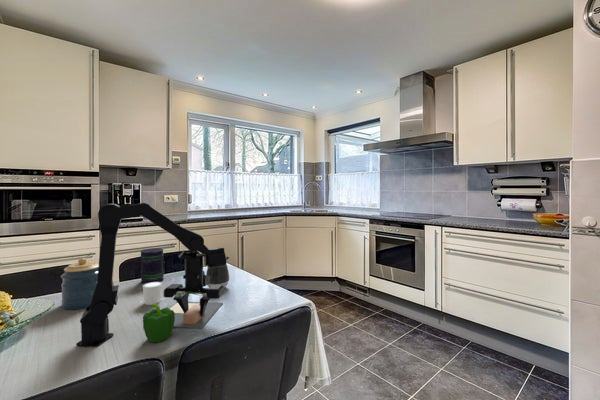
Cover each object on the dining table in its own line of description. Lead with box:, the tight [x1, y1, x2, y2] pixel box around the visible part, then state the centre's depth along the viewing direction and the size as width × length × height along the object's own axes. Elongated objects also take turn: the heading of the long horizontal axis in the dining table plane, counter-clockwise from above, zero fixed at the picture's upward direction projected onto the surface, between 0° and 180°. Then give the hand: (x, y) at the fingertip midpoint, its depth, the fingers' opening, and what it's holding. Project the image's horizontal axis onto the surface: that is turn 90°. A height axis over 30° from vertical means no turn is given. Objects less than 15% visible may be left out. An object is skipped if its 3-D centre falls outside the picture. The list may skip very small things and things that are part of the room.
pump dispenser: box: [205, 256, 230, 289], centre depth 128 cm, size 10×10×15 cm
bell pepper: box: [142, 303, 175, 343], centre depth 85 cm, size 8×8×10 cm
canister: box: [60, 257, 99, 310], centre depth 111 cm, size 13×13×18 cm
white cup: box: [142, 282, 163, 306], centre depth 112 cm, size 7×7×7 cm
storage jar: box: [140, 247, 165, 285], centre depth 138 cm, size 10×10×15 cm
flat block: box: [183, 305, 205, 324], centre depth 97 cm, size 8×4×3 cm, turn 176°
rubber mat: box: [168, 301, 224, 329], centre depth 101 cm, size 20×18×1 cm
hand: (194, 316), depth 97 cm, fingers open, 5 cm apart
